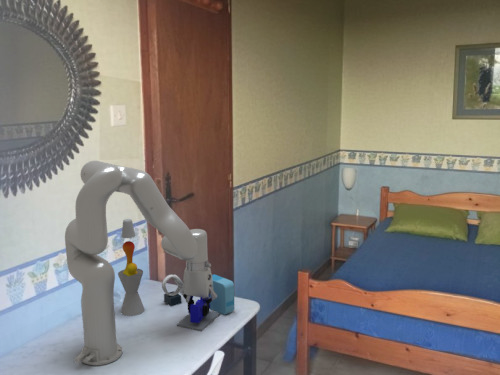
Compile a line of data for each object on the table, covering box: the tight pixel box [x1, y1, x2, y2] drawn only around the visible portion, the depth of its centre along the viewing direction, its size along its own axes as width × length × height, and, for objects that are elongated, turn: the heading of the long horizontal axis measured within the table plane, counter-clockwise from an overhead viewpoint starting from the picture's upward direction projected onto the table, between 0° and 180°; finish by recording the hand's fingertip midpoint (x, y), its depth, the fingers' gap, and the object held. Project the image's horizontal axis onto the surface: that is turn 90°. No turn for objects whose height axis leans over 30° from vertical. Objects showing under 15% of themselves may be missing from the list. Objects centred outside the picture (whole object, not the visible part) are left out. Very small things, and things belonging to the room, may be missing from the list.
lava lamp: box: [117, 218, 145, 317], centre depth 184 cm, size 9×9×35 cm
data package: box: [209, 273, 235, 316], centre depth 187 cm, size 12×4×12 cm, turn 45°
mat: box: [175, 310, 221, 332], centre depth 179 cm, size 14×10×1 cm
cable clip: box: [189, 294, 211, 323], centre depth 178 cm, size 12×4×6 cm, turn 165°
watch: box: [161, 274, 183, 307], centre depth 193 cm, size 6×8×11 cm
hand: (198, 312), depth 179 cm, fingers closed on cable clip, 5 cm apart
